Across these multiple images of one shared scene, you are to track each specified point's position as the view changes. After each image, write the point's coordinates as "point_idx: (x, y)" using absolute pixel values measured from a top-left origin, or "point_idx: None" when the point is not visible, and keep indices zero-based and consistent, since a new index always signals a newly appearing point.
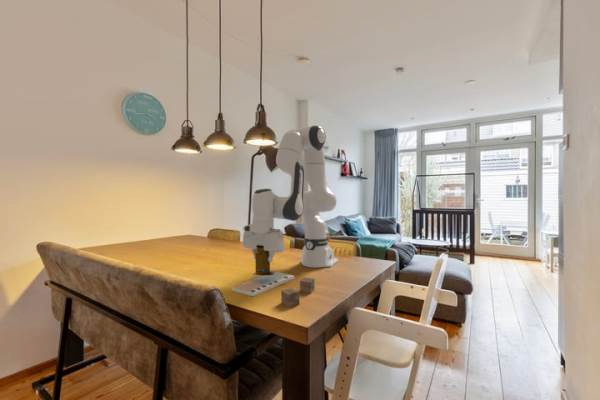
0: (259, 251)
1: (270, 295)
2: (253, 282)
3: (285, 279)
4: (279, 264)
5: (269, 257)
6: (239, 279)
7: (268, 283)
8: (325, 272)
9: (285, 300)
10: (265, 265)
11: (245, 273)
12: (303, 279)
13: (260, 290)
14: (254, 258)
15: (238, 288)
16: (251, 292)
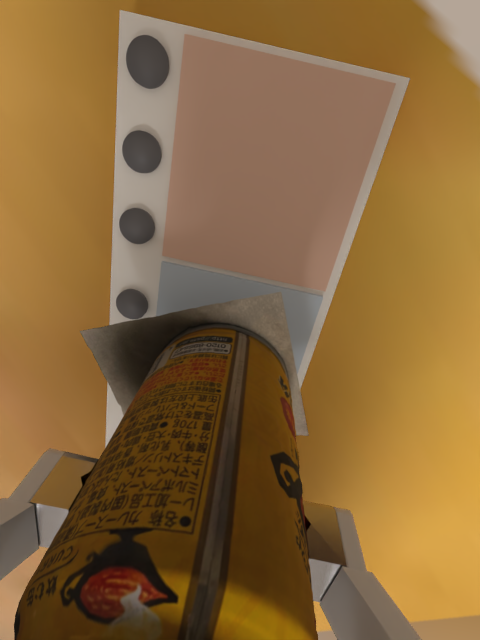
0: (141, 633)
1: (24, 123)
2: (277, 286)
3: (106, 418)
4: (316, 624)
5: (9, 508)
6: (453, 364)
7: (156, 310)
8: (32, 570)
9: None
10: (131, 404)
11: (459, 476)
12: None
13: (118, 138)
14: (342, 516)
15: (326, 67)
16: (145, 25)
